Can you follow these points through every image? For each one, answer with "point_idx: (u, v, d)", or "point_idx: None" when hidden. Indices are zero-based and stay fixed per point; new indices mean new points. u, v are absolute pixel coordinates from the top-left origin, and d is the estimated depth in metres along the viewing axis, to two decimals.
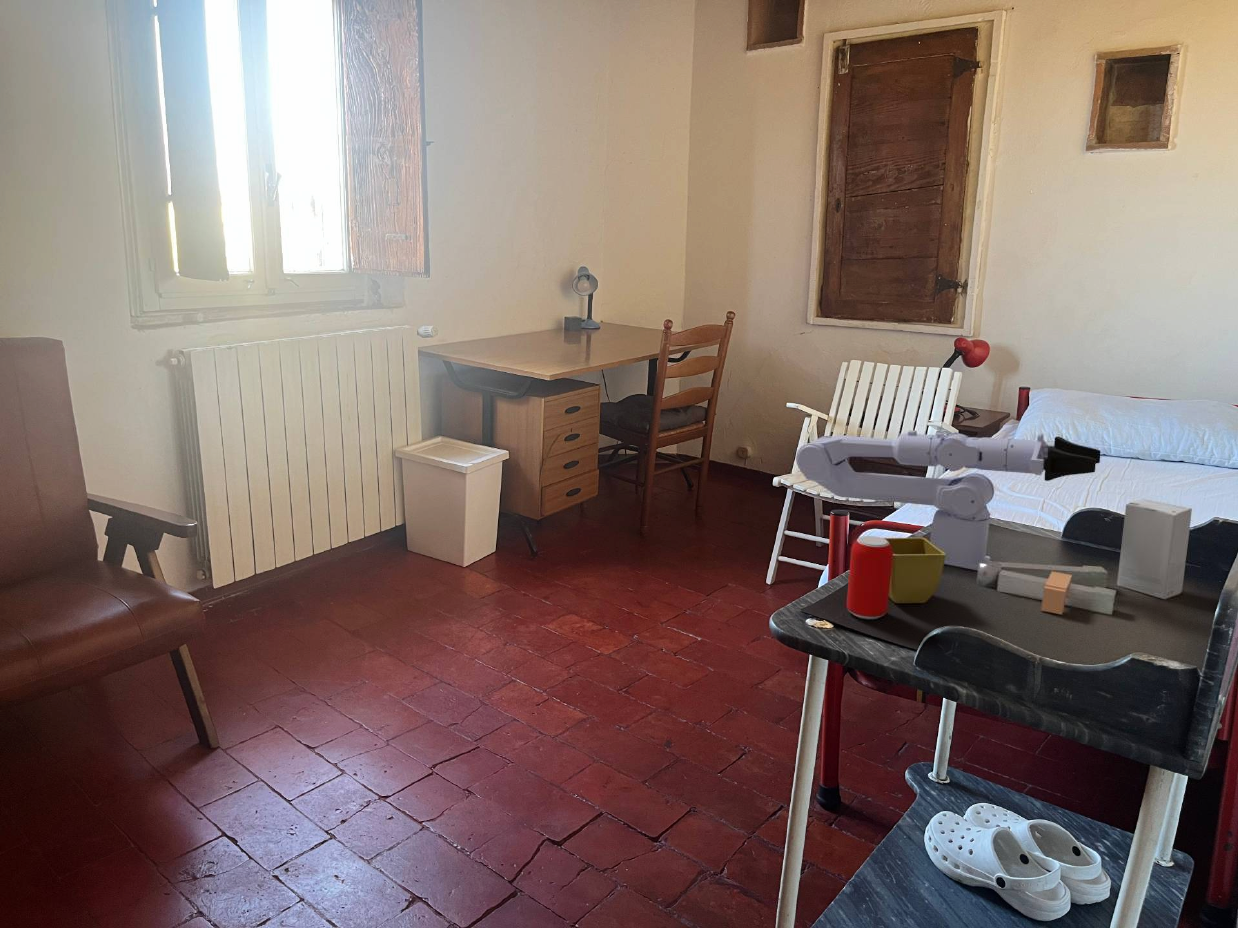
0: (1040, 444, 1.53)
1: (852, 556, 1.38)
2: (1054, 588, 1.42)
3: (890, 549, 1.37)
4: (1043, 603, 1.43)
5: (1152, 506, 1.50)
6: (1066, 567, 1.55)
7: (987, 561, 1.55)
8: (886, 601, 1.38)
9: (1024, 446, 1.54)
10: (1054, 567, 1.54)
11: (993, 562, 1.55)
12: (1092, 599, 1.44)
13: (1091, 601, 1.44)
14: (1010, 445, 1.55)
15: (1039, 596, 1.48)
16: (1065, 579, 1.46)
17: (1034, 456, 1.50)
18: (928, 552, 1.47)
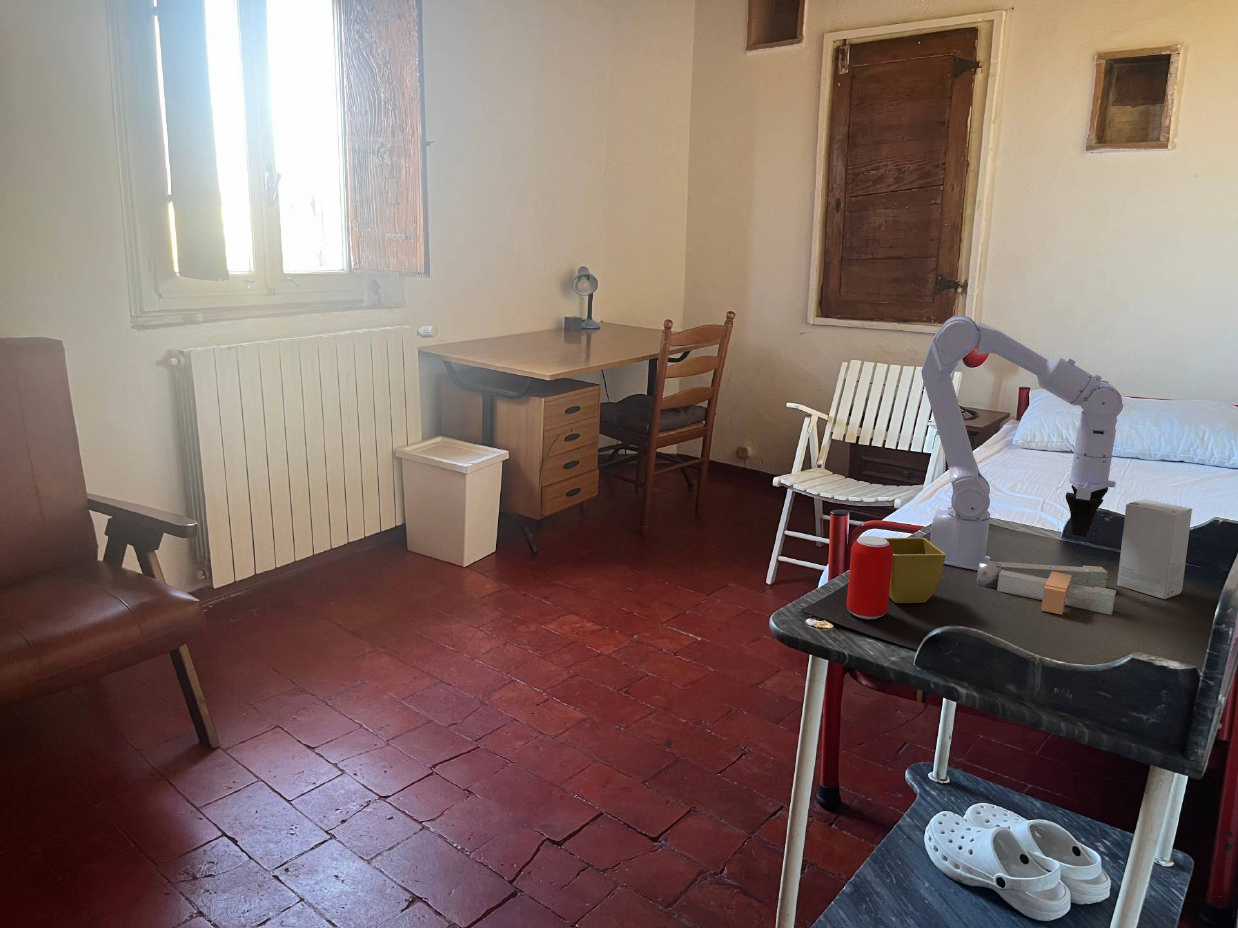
0: (1104, 487, 1.52)
1: (852, 556, 1.38)
2: (1054, 588, 1.42)
3: (890, 549, 1.37)
4: (1043, 603, 1.43)
5: (1152, 506, 1.50)
6: (1066, 567, 1.55)
7: (987, 561, 1.55)
8: (886, 601, 1.38)
9: (1102, 473, 1.52)
10: (1054, 567, 1.54)
11: (993, 562, 1.55)
12: (1092, 599, 1.44)
13: (1091, 601, 1.44)
14: (1105, 459, 1.51)
15: (1039, 596, 1.48)
16: (1065, 579, 1.46)
17: (1093, 489, 1.50)
18: (928, 552, 1.47)
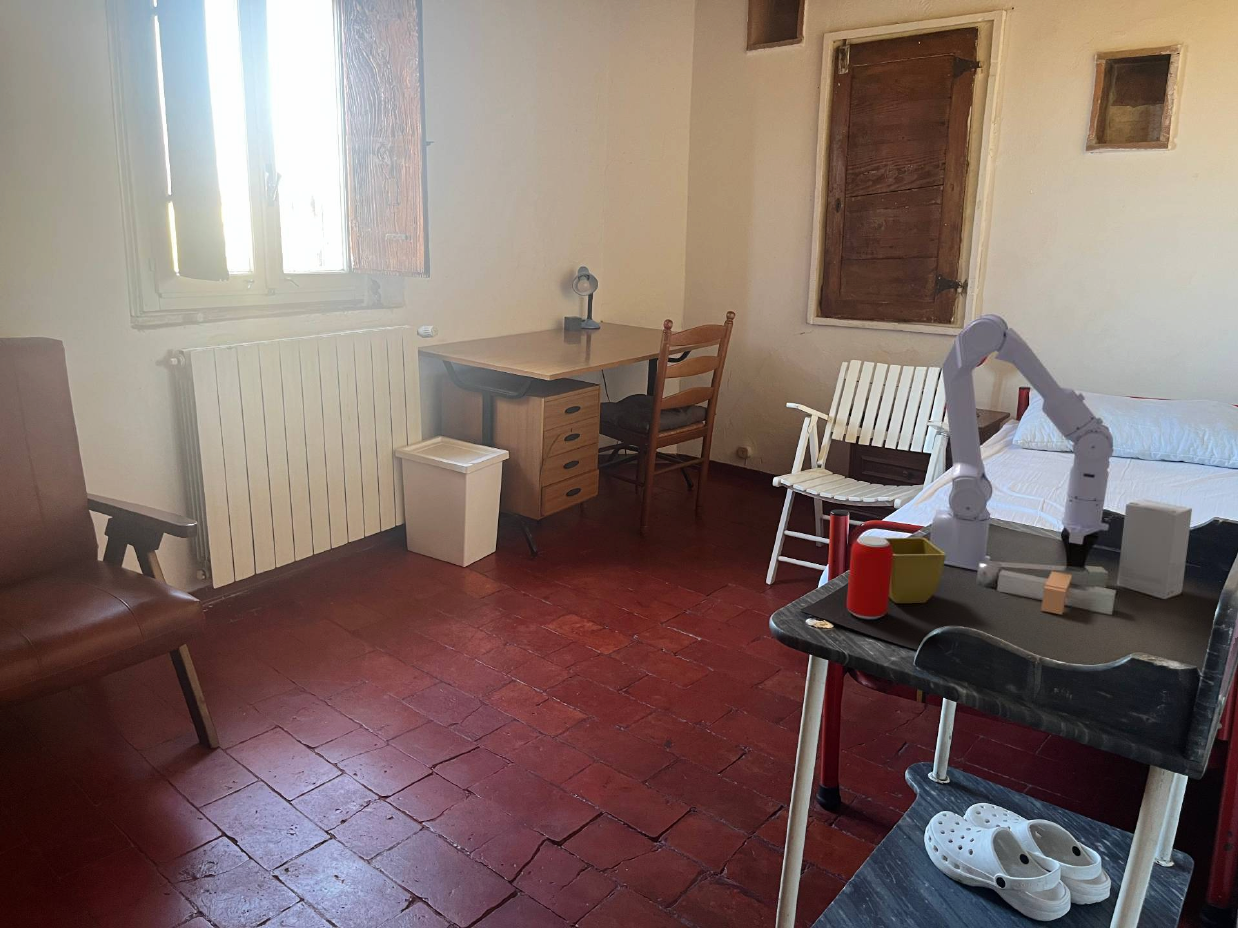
0: (1097, 530, 1.52)
1: (852, 556, 1.38)
2: (1054, 588, 1.42)
3: (890, 549, 1.37)
4: (1043, 603, 1.43)
5: (1152, 506, 1.50)
6: (1066, 567, 1.55)
7: (987, 561, 1.55)
8: (886, 601, 1.38)
9: (1095, 516, 1.52)
10: (1054, 567, 1.54)
11: (993, 562, 1.55)
12: (1092, 599, 1.44)
13: (1091, 601, 1.44)
14: (1098, 503, 1.51)
15: (1039, 596, 1.48)
16: (1065, 579, 1.46)
17: (1086, 533, 1.49)
18: (928, 552, 1.47)
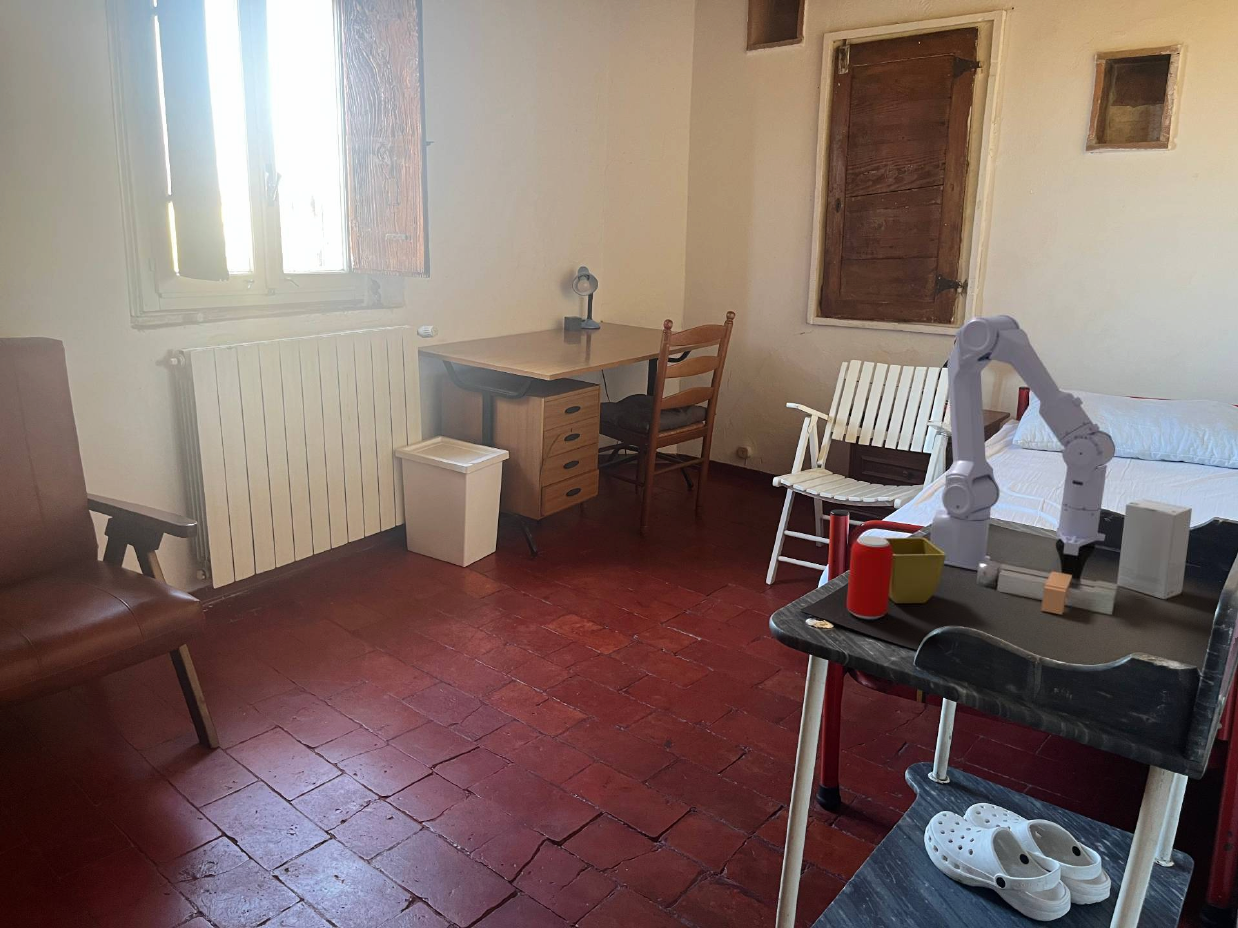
0: (1093, 540, 1.46)
1: (852, 556, 1.38)
2: (1054, 588, 1.42)
3: (890, 549, 1.37)
4: (1043, 603, 1.43)
5: (1152, 506, 1.50)
6: (1076, 579, 1.49)
7: (990, 561, 1.55)
8: (886, 601, 1.38)
9: (1091, 526, 1.46)
10: None
11: (996, 563, 1.54)
12: (1092, 599, 1.44)
13: (1091, 601, 1.44)
14: (1094, 512, 1.45)
15: (1039, 596, 1.48)
16: (1065, 579, 1.46)
17: (1081, 543, 1.44)
18: (928, 552, 1.47)
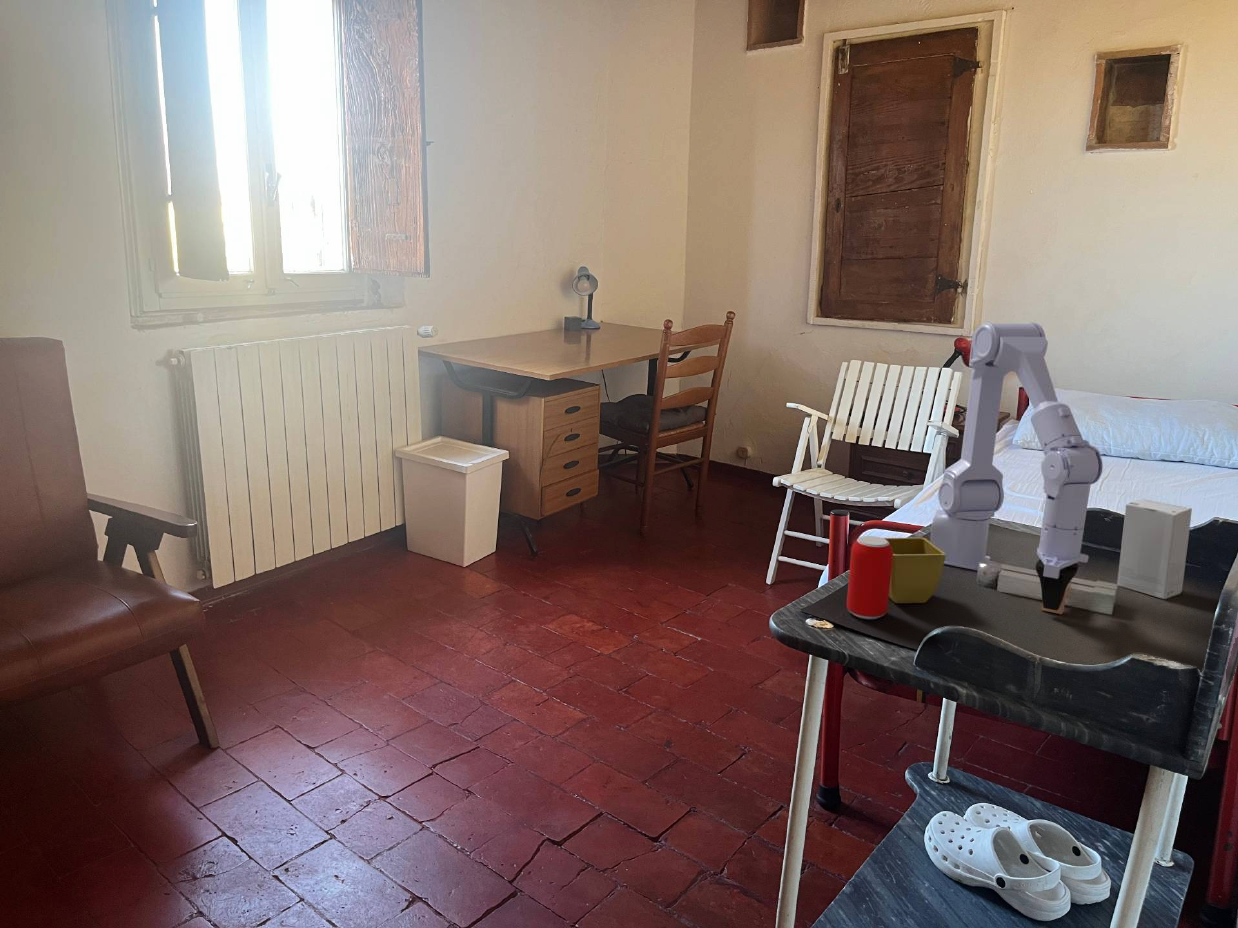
0: (1075, 562, 1.36)
1: (852, 556, 1.38)
2: None
3: (890, 549, 1.37)
4: None
5: (1152, 506, 1.50)
6: (1076, 579, 1.49)
7: (990, 561, 1.55)
8: (886, 601, 1.38)
9: (1073, 546, 1.36)
10: None
11: (996, 563, 1.54)
12: (1092, 599, 1.44)
13: (1091, 601, 1.44)
14: (1076, 532, 1.35)
15: (1039, 596, 1.48)
16: None
17: (1062, 565, 1.34)
18: (928, 552, 1.47)
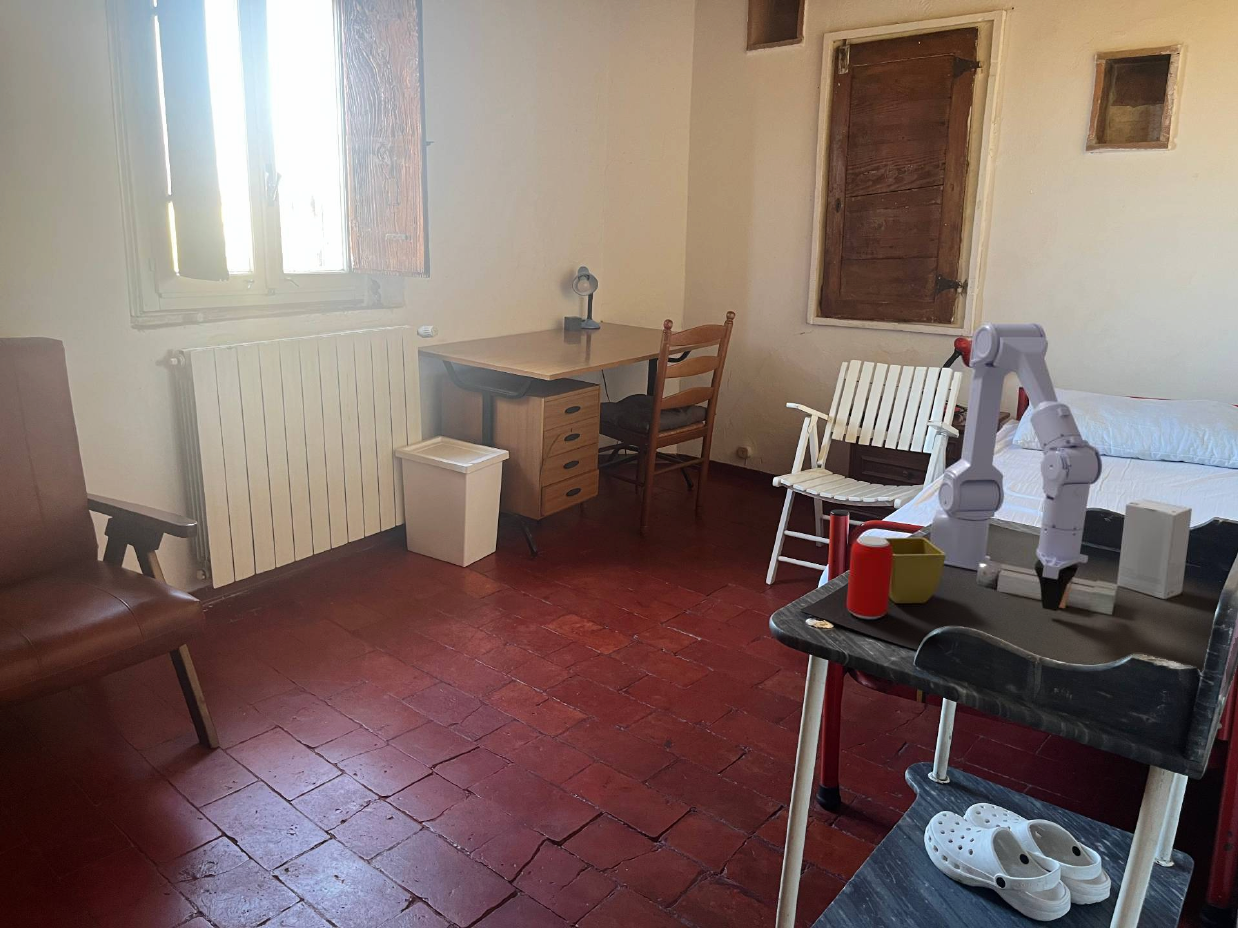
0: (1074, 562, 1.36)
1: (852, 556, 1.38)
2: None
3: (890, 549, 1.37)
4: None
5: (1152, 506, 1.50)
6: (1076, 579, 1.49)
7: (990, 561, 1.55)
8: (886, 601, 1.38)
9: (1073, 547, 1.35)
10: None
11: (996, 563, 1.54)
12: (1092, 599, 1.44)
13: (1091, 601, 1.44)
14: (1075, 532, 1.35)
15: (1039, 596, 1.48)
16: None
17: (1061, 566, 1.33)
18: (928, 552, 1.47)
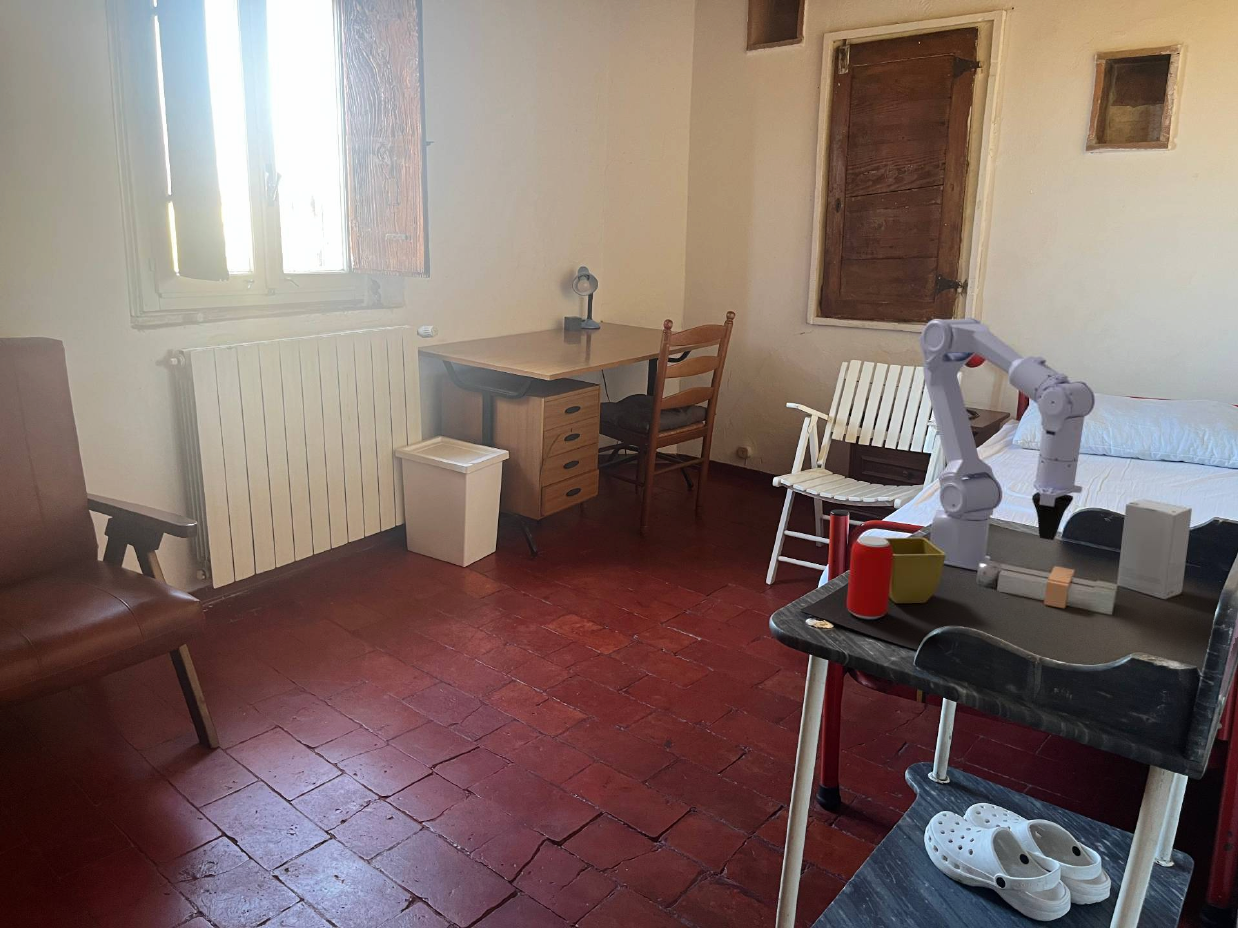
0: (1070, 492, 1.44)
1: (852, 556, 1.38)
2: (1057, 582, 1.45)
3: (890, 549, 1.37)
4: (1046, 597, 1.45)
5: (1152, 506, 1.50)
6: (1076, 579, 1.49)
7: (990, 561, 1.55)
8: (886, 601, 1.38)
9: (1068, 477, 1.44)
10: None
11: (996, 563, 1.54)
12: (1092, 599, 1.44)
13: (1091, 601, 1.44)
14: (1070, 463, 1.43)
15: (1039, 596, 1.48)
16: (1067, 573, 1.48)
17: (1057, 494, 1.42)
18: (928, 552, 1.47)
